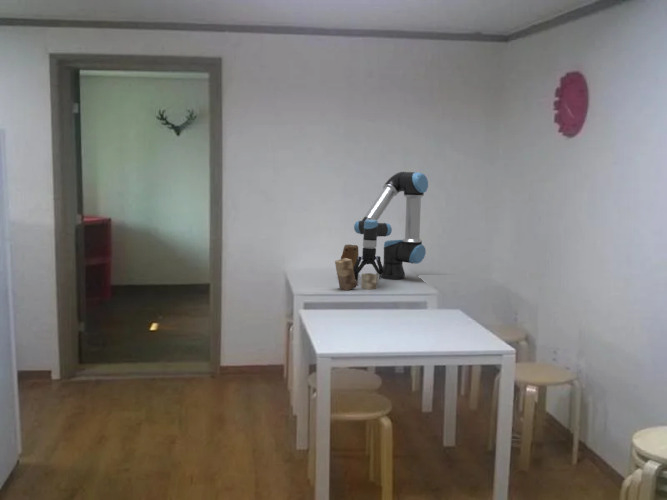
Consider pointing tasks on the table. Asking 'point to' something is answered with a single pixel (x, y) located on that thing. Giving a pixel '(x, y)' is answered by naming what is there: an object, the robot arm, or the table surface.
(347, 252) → the block
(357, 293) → the table surface
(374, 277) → the maple block
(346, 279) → the walnut block
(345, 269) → the oak block
